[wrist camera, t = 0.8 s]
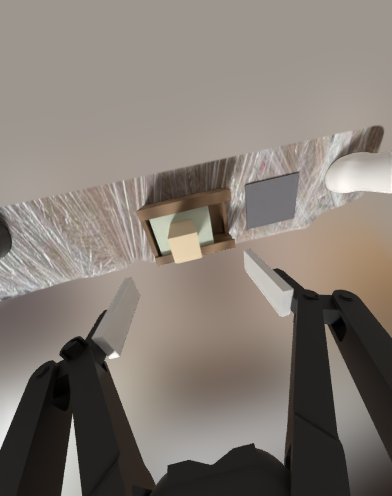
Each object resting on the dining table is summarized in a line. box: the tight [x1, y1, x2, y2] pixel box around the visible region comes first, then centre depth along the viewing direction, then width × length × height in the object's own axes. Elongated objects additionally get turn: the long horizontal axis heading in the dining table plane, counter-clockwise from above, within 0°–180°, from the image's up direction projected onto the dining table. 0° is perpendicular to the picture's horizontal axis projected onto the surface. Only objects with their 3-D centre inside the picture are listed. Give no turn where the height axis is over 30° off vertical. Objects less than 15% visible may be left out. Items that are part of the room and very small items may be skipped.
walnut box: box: [136, 188, 235, 266], centre depth 32 cm, size 18×12×7 cm
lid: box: [149, 206, 214, 264], centre depth 26 cm, size 12×10×10 cm
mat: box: [245, 173, 299, 229], centre depth 35 cm, size 13×11×1 cm
